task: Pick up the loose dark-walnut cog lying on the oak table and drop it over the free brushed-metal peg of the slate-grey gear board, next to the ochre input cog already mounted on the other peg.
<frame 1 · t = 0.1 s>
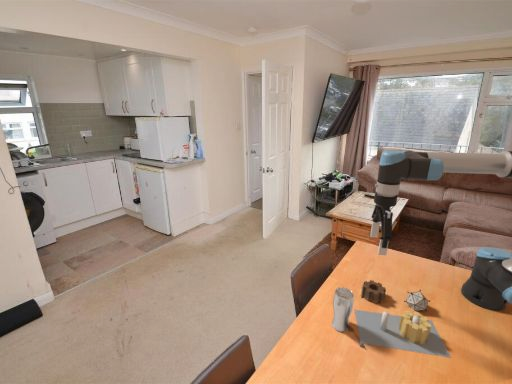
hand: (377, 245, 103), 28 cm above the table, fingers open, 13 cm apart
game die: (415, 309, 109), on the table
walnut gear: (372, 298, 114), on the table
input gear: (412, 333, 95), resting on gear board
gear board: (397, 334, 97), on the table
beer glass: (340, 326, 101), on the table
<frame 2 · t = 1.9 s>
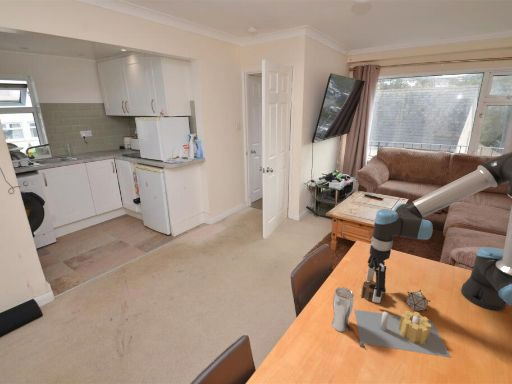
hand: (372, 290, 113), 4 cm above the table, fingers open, 13 cm apart
nothing on the table moved.
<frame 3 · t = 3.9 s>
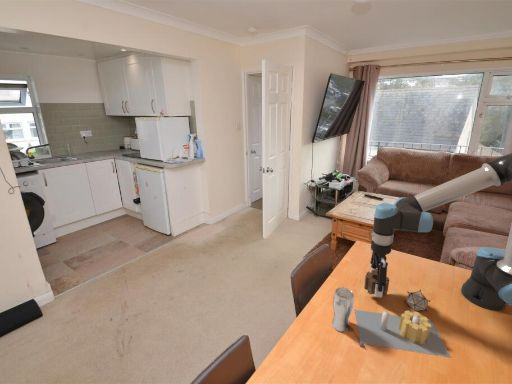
hand: (375, 288, 113), 5 cm above the table, fingers closed on walnut gear, 9 cm apart
walnut gear: (375, 289, 113), point 5 cm above the table, touching gripper
everything else where it was.
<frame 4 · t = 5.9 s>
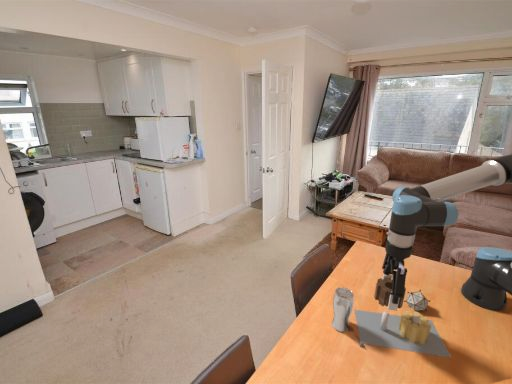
hand: (388, 299, 93), 15 cm above the table, fingers closed on walnut gear, 9 cm apart
walnut gear: (388, 299, 93), point 14 cm above the table, touching gripper
everything else where it was.
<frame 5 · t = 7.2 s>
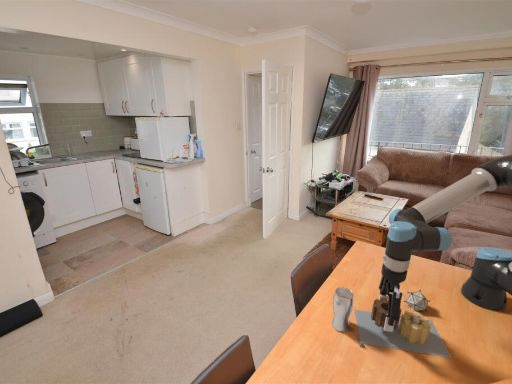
hand: (384, 319, 96), 6 cm above the table, fingers closed on walnut gear, 9 cm apart
walnut gear: (384, 320, 96), point 5 cm above the table, touching gripper
everything else where it was.
when the fingers open (3 cm above the table, at t = 8.2 s): walnut gear drops 1 cm, resting on gear board.
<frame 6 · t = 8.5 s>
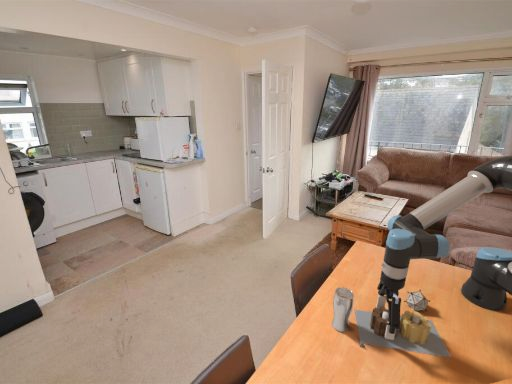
hand: (384, 323, 96), 4 cm above the table, fingers open, 13 cm apart
walnut gear: (383, 328, 97), point 1 cm above the table, touching gear board
everything else where it was.
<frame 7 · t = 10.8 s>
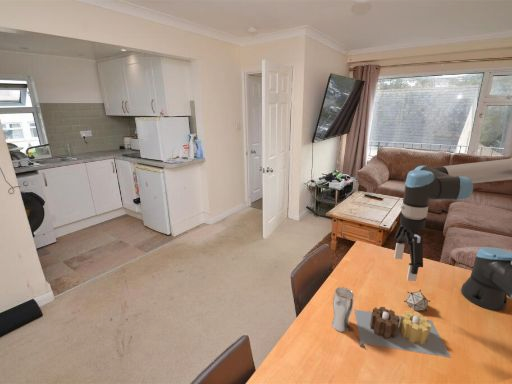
hand: (404, 268, 97), 22 cm above the table, fingers open, 13 cm apart
nothing on the table moved.
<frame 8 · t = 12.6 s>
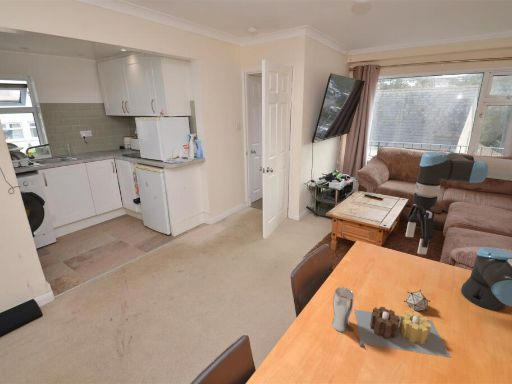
hand: (415, 244, 105), 27 cm above the table, fingers open, 13 cm apart
nothing on the table moved.
at the end: walnut gear 0.1 cm from the target spot, point 1.5 cm above the table; walnut gear tilted 0°; the gripper is holding nothing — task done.
